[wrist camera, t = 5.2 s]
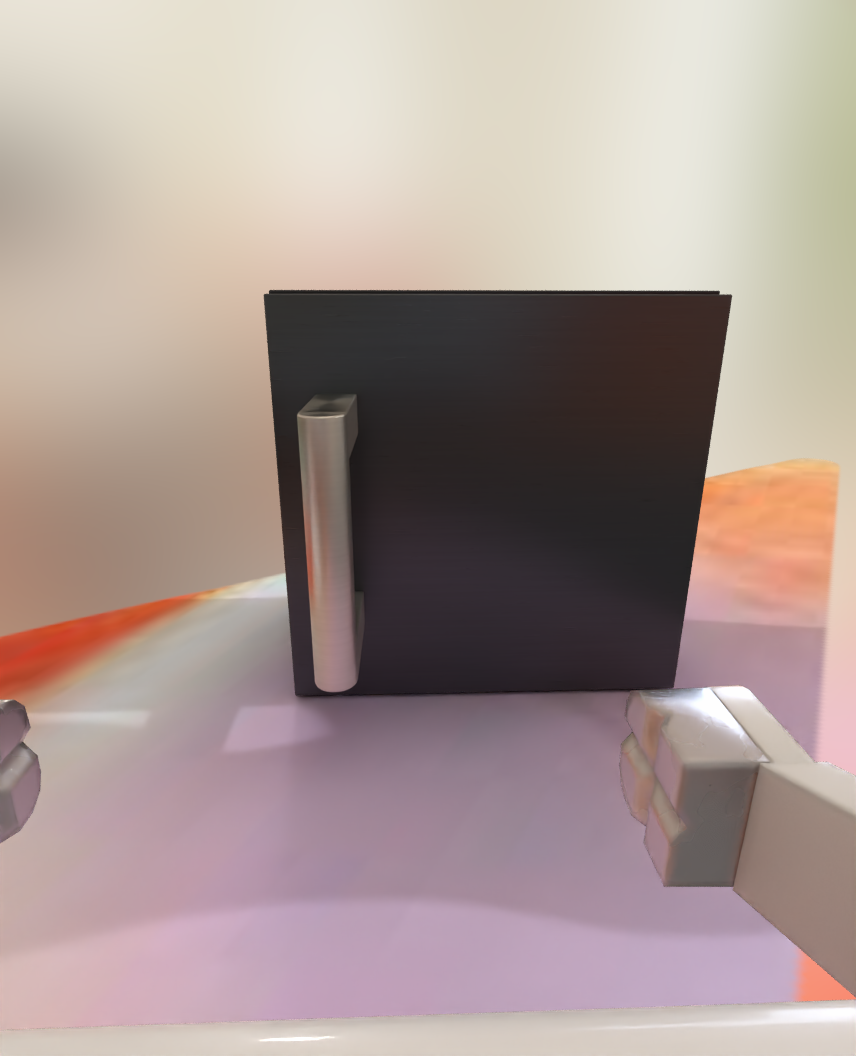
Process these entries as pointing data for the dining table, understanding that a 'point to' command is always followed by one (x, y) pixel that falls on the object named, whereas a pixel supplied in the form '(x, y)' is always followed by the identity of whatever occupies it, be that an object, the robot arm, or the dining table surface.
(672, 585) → the machine door
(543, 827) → the dining table surface
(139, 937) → the dining table surface
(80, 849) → the dining table surface
